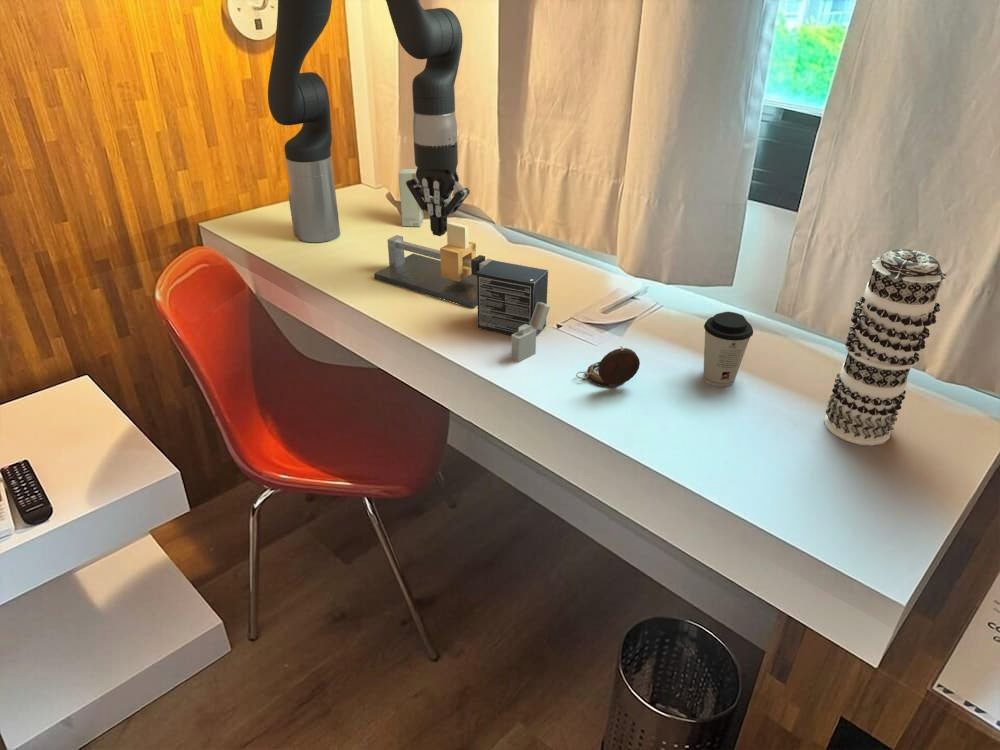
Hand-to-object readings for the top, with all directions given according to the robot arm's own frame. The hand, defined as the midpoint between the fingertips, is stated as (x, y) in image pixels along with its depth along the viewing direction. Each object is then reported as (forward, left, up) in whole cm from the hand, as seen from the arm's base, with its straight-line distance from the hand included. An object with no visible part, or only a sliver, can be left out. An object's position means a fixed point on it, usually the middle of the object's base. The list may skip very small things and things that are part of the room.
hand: (439, 234), depth 133 cm
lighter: (+28, -14, -10) cm, 33 cm away
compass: (+41, -15, -10) cm, 45 cm away
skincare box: (-25, +23, -10) cm, 36 cm away
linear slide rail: (0, 0, -10) cm, 10 cm away
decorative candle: (+76, -7, -10) cm, 77 cm away
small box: (+21, -8, -10) cm, 24 cm away
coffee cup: (+56, -5, -10) cm, 57 cm away
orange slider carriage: (+4, 0, -7) cm, 8 cm away
